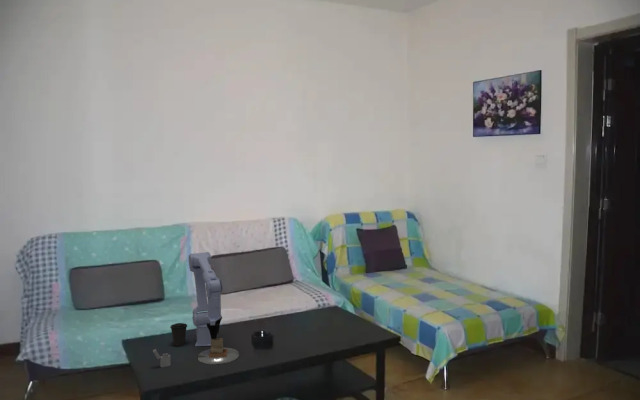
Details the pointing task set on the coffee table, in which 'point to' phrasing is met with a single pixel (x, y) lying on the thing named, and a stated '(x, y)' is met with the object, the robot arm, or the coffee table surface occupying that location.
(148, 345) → the coffee table surface
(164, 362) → the lighter
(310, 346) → the coffee table surface
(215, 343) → the wood grain block
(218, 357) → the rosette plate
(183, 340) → the coffee cup
